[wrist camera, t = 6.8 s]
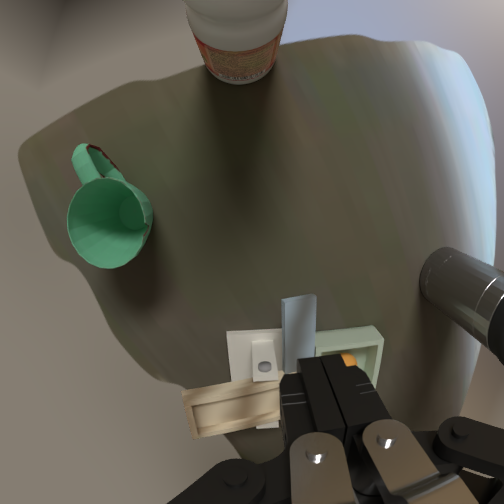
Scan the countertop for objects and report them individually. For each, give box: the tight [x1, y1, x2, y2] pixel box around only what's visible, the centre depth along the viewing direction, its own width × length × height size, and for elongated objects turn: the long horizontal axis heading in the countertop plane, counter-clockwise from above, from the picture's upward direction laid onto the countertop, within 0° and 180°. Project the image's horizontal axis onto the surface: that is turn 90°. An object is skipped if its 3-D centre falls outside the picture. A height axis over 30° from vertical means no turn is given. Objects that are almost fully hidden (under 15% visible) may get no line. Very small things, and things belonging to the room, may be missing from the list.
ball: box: [340, 353, 357, 366], centre depth 42 cm, size 4×4×4 cm
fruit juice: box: [183, 0, 288, 85], centre depth 21 cm, size 9×9×28 cm
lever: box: [181, 293, 316, 439], centre depth 34 cm, size 17×17×3 cm
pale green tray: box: [314, 325, 384, 388], centre depth 43 cm, size 10×10×4 cm
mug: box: [67, 144, 153, 269], centre depth 34 cm, size 15×10×10 cm
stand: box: [227, 328, 282, 429], centre depth 40 cm, size 10×12×10 cm
